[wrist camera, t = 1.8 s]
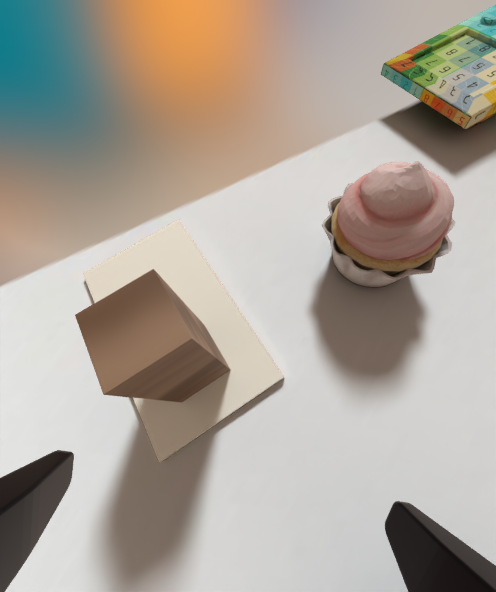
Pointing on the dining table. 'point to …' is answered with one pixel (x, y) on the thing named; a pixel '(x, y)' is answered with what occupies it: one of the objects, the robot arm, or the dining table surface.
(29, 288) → the dining table surface
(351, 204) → the cupcake
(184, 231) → the beige mat
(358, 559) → the dining table surface
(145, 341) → the walnut block
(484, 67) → the puzzle game
